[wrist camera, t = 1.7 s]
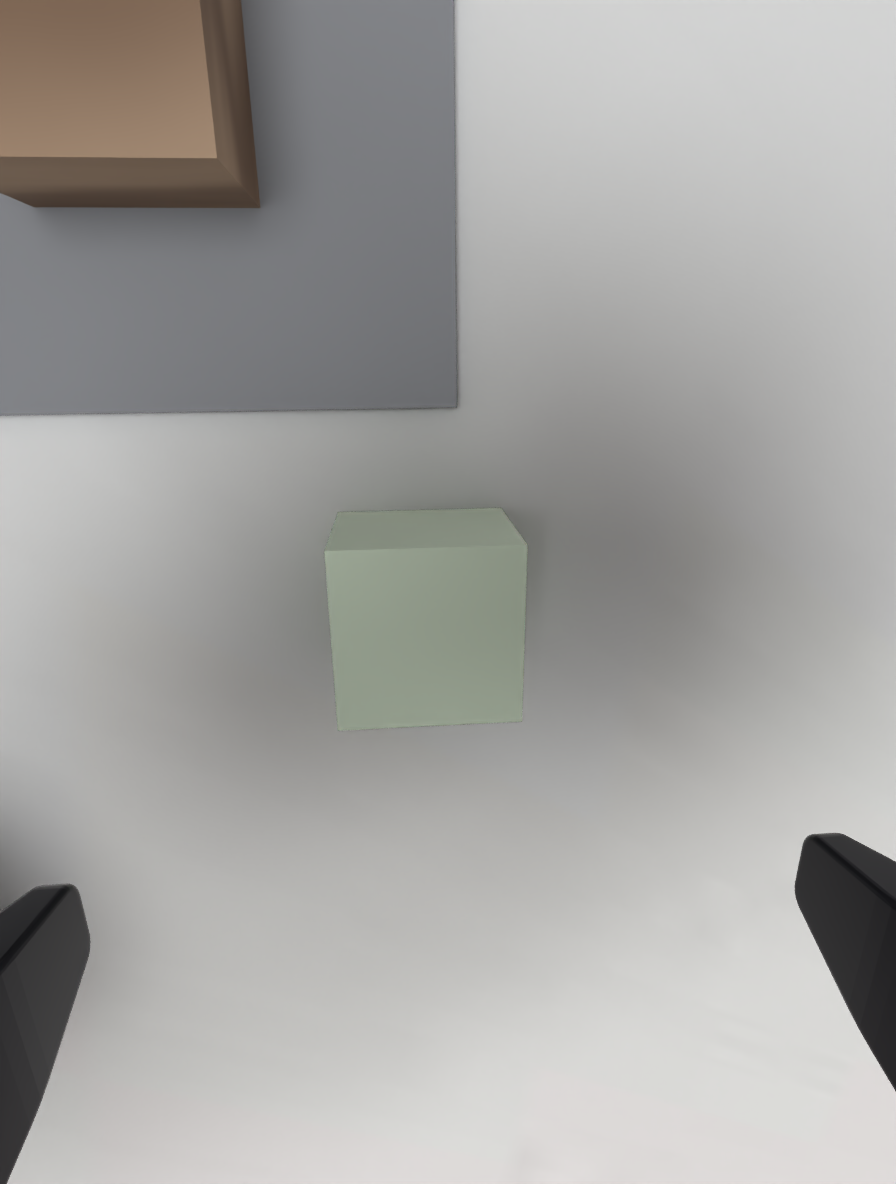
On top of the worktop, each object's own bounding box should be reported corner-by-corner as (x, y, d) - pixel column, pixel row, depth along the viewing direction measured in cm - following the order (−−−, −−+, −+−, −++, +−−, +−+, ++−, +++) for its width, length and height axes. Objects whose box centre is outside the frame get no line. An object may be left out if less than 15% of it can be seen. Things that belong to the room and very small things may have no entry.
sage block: (497, 653, 20) (521, 721, 16) (348, 659, 20) (337, 730, 16) (500, 507, 19) (527, 544, 15) (338, 511, 18) (324, 551, 14)
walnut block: (260, 208, 15) (216, 158, 11) (34, 207, 15) (-87, 156, 11) (234, -70, 14) (174, -234, 10) (-21, -78, 13) (-185, -251, 9)
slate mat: (455, 406, 17) (456, 407, 17) (-108, 416, 16) (-119, 417, 16) (449, -346, 13) (451, -368, 12) (-335, -396, 12) (-359, -421, 11)
